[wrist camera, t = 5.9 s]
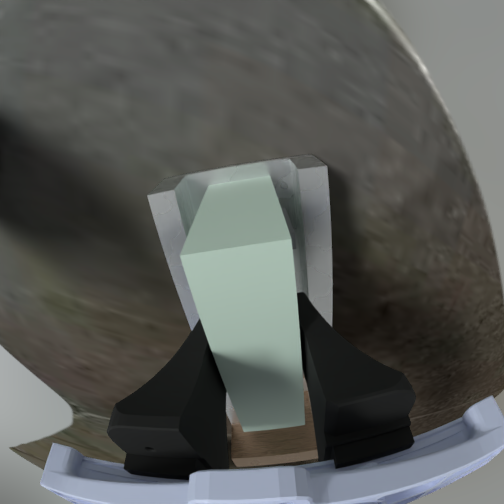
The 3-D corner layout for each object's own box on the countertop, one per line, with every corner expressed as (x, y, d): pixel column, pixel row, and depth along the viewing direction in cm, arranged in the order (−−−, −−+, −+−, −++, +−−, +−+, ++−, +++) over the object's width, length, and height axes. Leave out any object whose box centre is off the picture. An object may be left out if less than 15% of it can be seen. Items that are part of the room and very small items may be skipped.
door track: (320, 396, 23) (332, 455, 18) (237, 407, 24) (236, 466, 18) (311, 154, 14) (352, 187, 8) (164, 178, 14) (119, 224, 9)
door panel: (294, 330, 19) (311, 423, 12) (243, 337, 19) (244, 431, 13) (276, 174, 14) (302, 237, 8) (208, 185, 14) (179, 255, 8)
